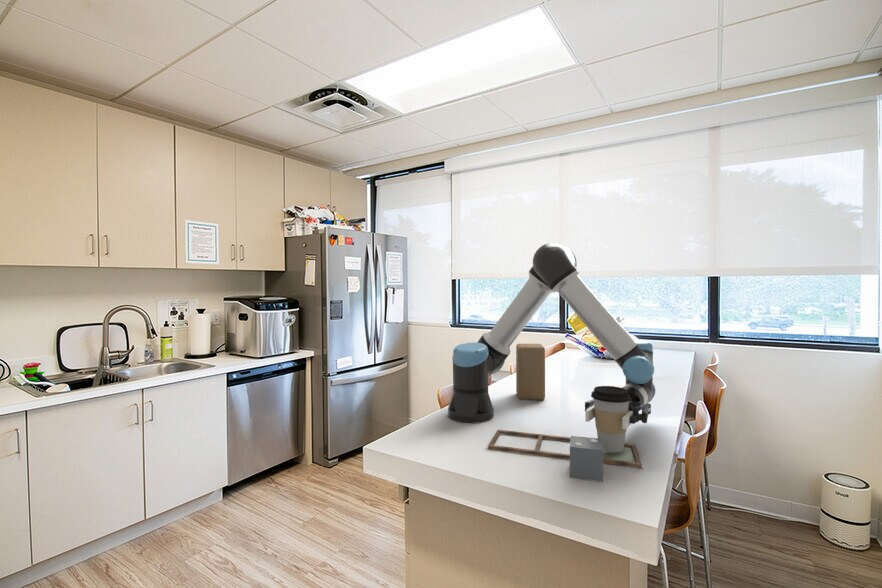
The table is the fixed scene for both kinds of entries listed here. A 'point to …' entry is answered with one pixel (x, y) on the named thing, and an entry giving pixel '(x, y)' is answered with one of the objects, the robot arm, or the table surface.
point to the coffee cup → (610, 416)
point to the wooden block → (530, 371)
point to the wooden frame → (608, 457)
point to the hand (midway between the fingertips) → (604, 419)
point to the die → (586, 458)
